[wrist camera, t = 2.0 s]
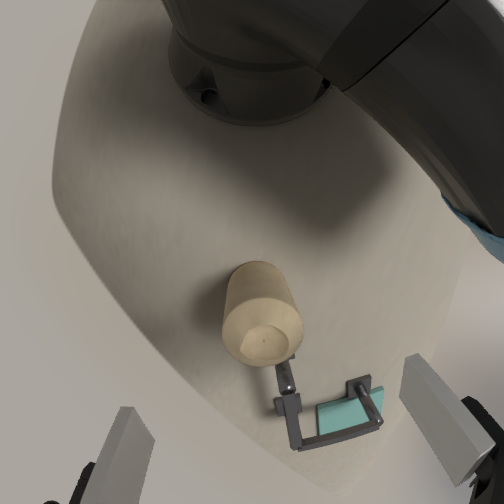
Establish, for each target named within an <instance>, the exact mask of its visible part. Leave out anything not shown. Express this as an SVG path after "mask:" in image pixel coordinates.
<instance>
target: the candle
mask: <svg viewBox="0 0 504 504" xmlns="http://www.w3.org/2000/svg"><path fill="white" fill-rule="evenodd" d="M303 334H304V327H303V322H302V319H301V316H300V314H299V312H298V309H297V307H296V305H295V302H294V300H293V297H292V295H291V293H290V290H289V288H288V286H287V283H286V281H285V279H284V277H283V275H282V274H281V272H280V271H279V270H278V269H277V268H275V267H274V266H273V265H271V264H269V263H266V262H261V261H254V262H249V263H246V264H244V265H242V266H240V267H239V268H238V269H236V271H235V272H234V273H233V274H232V276H231V278H230V280H229V283H228V287H227V294H226V302H225V309H224V317H223V325H222V340H223V344H224V346H225V348H226V350H227V351H228V353H229V354H230V355H231V356H232V357H233V358H235V359H236V360H238V361H239V362H241V363H243V364H246V365H250V366H255V367H267V366H273V365H276V364H279V363H281V362H283V361H285V360H287V359H288V358H289V357H291V356H292V355H293V354H294V353H295V352H296V350H297V349H298V348H299V346H300V344H301V342H302V339H303Z"/></svg>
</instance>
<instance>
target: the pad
mask: <svg viewBox="0 0 504 504" xmlns="http://www.w3.org/2000/svg"><path fill="white" fill-rule="evenodd" d="M369 395H370V397H371V398H372V400H373V402H374V404H375V406H376V408H377V409H378V411H379V413H380V415H381V409H382V403H383V396H384V388H383V387H382V386H381V387H378V388H375V389H372V390H370V394H369ZM317 412H318V426H319V435H323V434H327V433H331V432H334V431H338V430H342V429H345V428H348V427H352V426H355V425H358V424H361V423H364V422H367V421H369V419H368V417H367V415H366V413H365V411H364V409H363V407H362V405H361V403H360V401H359V399H358V397H357V398H354V399H351V400H348V398H347V397H346V398H343V399H339V400H335V401H332V402H328V403H324V404H320V405H317Z"/></svg>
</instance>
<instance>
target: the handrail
mask: <svg viewBox="0 0 504 504" xmlns="http://www.w3.org/2000/svg"><path fill="white" fill-rule="evenodd" d="M294 358H295V355H294V354H293V355H292V356H291V357H289V358H288V359H287V360H285V361H283V362H281V363H279V364H276V365H275V369H276V375H277V381H278V386H279V392H280V394H281V395H282V396H283V397H277V398H275V403H276V408H277V412H278V417H279V416H285V420H286V425H287V431H288V436H289V442H290V448H291V449H293V451H294V450H298V452H300V451H305V450H310V449H314V448H319V447H323V446H327V445H331V444H334V443H338V442H342V441H345V440H348V439H352V438H355V437H358V436H361V435H364V434H367V433H370V432H373V431H376V430H379V427H380V426H381V425H382V424H383V422H384V421H383V419H382V417H381V415H380V413H379V411H378V409H377V408H376V406H375V404H374V402H373V400H372V398H371V397H370V395H369V394H370V389H371V376H370V374H369V375H366V376H363V377H360V378H356V379H353V380H349V381H347V398H348V400H351V399H354V398H357V397H358V399H359V401H360V403H361V405H362V407H363V409H364V411H365V413H366V415H367V417H368V419H369V421H367V422H364V423H361V424H358V425H355V426H352V427H348V428H345V429H342V430H338V431H334V432H331V433H327V434H323V435H319V436H314V437H310V438H305V439H302V435H301V431H300V426H299V420H298V413H300V412H302V406H301V398H300V393H298V394H295V392H296V387H295V383H294V379H293V375H292V371H291V367H290V364H289V359H294Z"/></svg>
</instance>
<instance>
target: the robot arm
mask: <svg viewBox="0 0 504 504" xmlns="http://www.w3.org/2000/svg"><path fill="white" fill-rule="evenodd" d="M161 1H162V3H163V5H164V7H165V9H166V11H167V13H168V15H169V17H170V19H171V22H172V24H173V28H172V33H171V38H170V44H169V62H170V67H171V71H172V74H173V76H174V78H175V80H176V82H177V84H178V85H179V87H180V88H181V90H182V91H183V93H184V94H185V95H186V97H187V98H188V99H189V100H190V101H191V102H192V103H193V104H194V105H195V106H197V107H198V108H199V109H200V110H202V111H203V112H205V113H207V114H208V115H210V116H212V117H214V118H217V119H219V120H222V121H225V122H229V123H232V124H237V125H244V126H267V125H274V124H279V123H283V122H286V121H289V120H292V119H294V118H297V117H299V116H301V115H302V114H304V113H306V112H307V111H309V110H310V109H311V108H313V107H314V106H315V105H316V104H317V103H318V102H319V101H320V100H321V99H322V98H323V97H324V96H325V95H326V94H327V93H328V91H329V90H330V89H331V87H332V85H333V84H334V85H335V86H336V87H338V88H339V89H340V90H341V91H342V92H343V93H344V94H345V95H347V96H348V97H349V98H350V99H352V100H353V101H354V102H355V103H356V104H357V105H359V106H360V107H361V108H362V109H363V110H364V111H365V112H367V113H368V114H369V115H370V116H371V117H372V118H373V119H374V120H375V121H377V122H378V123H379V124H380V125H381V126H382V127H383V128H384V129H385V130H386V131H387V132H388V133H389V134H390V135H391V136H392V137H393V138H394V139H395V140H396V141H397V142H398V143H399V144H400V145H401V146H402V147H403V148H404V149H405V150H406V151H407V152H408V153H409V155H410V156H411V157H412V158H413V159H414V160H415V161H416V162H417V163H418V164H419V166H420V167H421V168H422V169H423V170H424V171H425V172H426V174H427V175H428V176H429V177H430V178H431V180H432V181H433V182H434V183H435V184H436V186H437V187H438V188H439V189H440V191H441V196H442V198H443V199H444V201H445V203H446V204H447V206H448V207H449V208H450V209H451V210H452V212H453V213H454V214H455V215H456V216H457V217H458V218H459V219H460V220H461V221H462V222H463V223H464V224H466V225H467V226H468V227H469V228H470V229H471V231H472V232H473V233H474V235H475V236H476V237H477V239H478V240H479V242H480V243H481V244H482V245H483V246H484V248H486V250H487V251H488V252H489V253H490V254H491V255H493V256H494V257H495V258H496V259H498V260H499V261H501V262H502V263H504V0H161ZM399 398H400V399H401V401H402V402H403V404H404V405H405V407H406V408H407V410H408V412H409V413H410V414H411V416H412V418H413V419H414V421H415V422H416V424H417V426H418V427H419V429H420V430H421V432H422V433H423V435H424V436H425V438H426V440H427V441H428V443H429V445H430V446H431V448H432V449H433V451H434V453H435V454H436V456H437V458H438V459H439V461H440V462H441V464H442V466H443V467H444V469H445V471H446V472H447V474H448V476H449V477H450V479H451V481H452V483H453V484H454V486H455V487H457V486H459V485H460V484H462V483H463V482H465V481H466V480H468V479H469V478H470V477H471V476H472V474H474V472H475V473H476V475H477V476H476V478H475V479H474V480H473V481H472V482H471V483H470V486H469V487H472V485H473V484H474V488H473V491H472V495H471V499H470V503H469V504H504V430H503V429H502V428H501V427H500V426H499V424H498V423H497V422H496V421H495V420H494V419H493V418H492V416H491V415H489V414H488V412H487V411H486V410H485V409H484V407H483V406H482V405H481V404H480V403H479V402H478V401H477V400H475V399H474V398H472V397H470V396H467V397H465V398H464V399H462V400H459V398H458V397H457V396H456V395H455V394H454V393H453V391H452V390H451V389H450V388H449V387H448V386H447V384H446V383H445V382H444V381H443V380H442V379H441V378H440V377H439V375H438V374H437V373H436V372H435V371H434V370H433V369H432V368H431V367H430V365H429V364H428V363H427V362H426V361H425V360H424V359H423V358H422V357H421V356H420V355H419V353H417V354H414V355H412V356H409V357H406V358H405V363H404V370H403V376H402V383H401V388H400V394H399ZM154 442H155V439H154V438H153V436H152V435H151V433H150V432H149V431H148V429H147V427H146V426H145V424H144V423H143V421H142V420H141V418H140V416H139V415H138V413H137V412H136V410H135V408H134V407H120V410H119V412H118V414H117V416H116V418H115V421H114V423H113V425H112V427H111V429H110V432H109V434H108V436H107V438H106V441H105V443H104V445H103V448H102V450H101V453H100V455H99V457H98V459H97V462H96V463H93V462H90V463H89V464H88V465H87V466H86V467H85V468H84V469H83V471H82V473H81V476H80V479H79V480H78V483H77V484H78V485H77V486H76V488H75V490H74V492H73V495H72V498H71V500H70V502H69V504H138V503H139V499H140V495H141V491H142V487H143V484H144V480H145V476H146V472H147V468H148V464H149V461H150V457H151V453H152V449H153V446H154ZM44 504H59V503H58V502H56V501H47V502H45V503H44Z"/></svg>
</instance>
